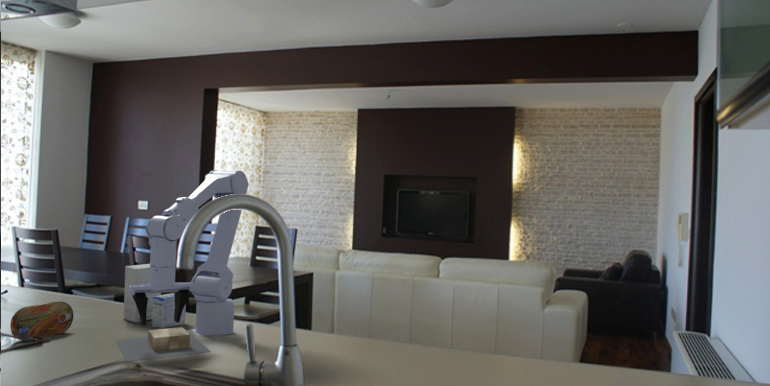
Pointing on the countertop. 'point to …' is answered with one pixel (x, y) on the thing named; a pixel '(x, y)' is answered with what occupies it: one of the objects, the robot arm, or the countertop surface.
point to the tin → (41, 320)
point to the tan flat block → (168, 338)
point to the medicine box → (165, 311)
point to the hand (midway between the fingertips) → (160, 323)
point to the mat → (142, 350)
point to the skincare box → (132, 277)
